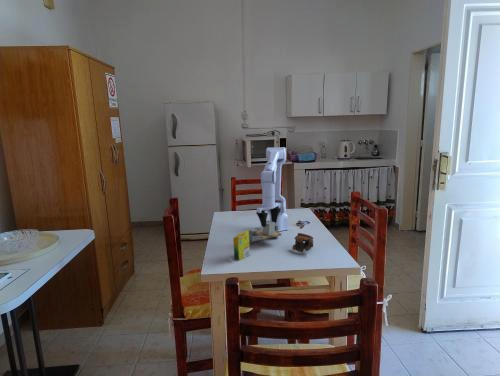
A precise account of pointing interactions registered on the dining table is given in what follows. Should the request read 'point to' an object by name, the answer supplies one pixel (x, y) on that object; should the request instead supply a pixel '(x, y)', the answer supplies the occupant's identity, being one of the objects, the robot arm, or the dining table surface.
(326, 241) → the dining table surface
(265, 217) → the robot arm
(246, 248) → the crayon box
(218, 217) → the dining table surface
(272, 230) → the grey rectangular block
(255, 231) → the trapdoor
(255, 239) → the frame
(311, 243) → the brown figurine
